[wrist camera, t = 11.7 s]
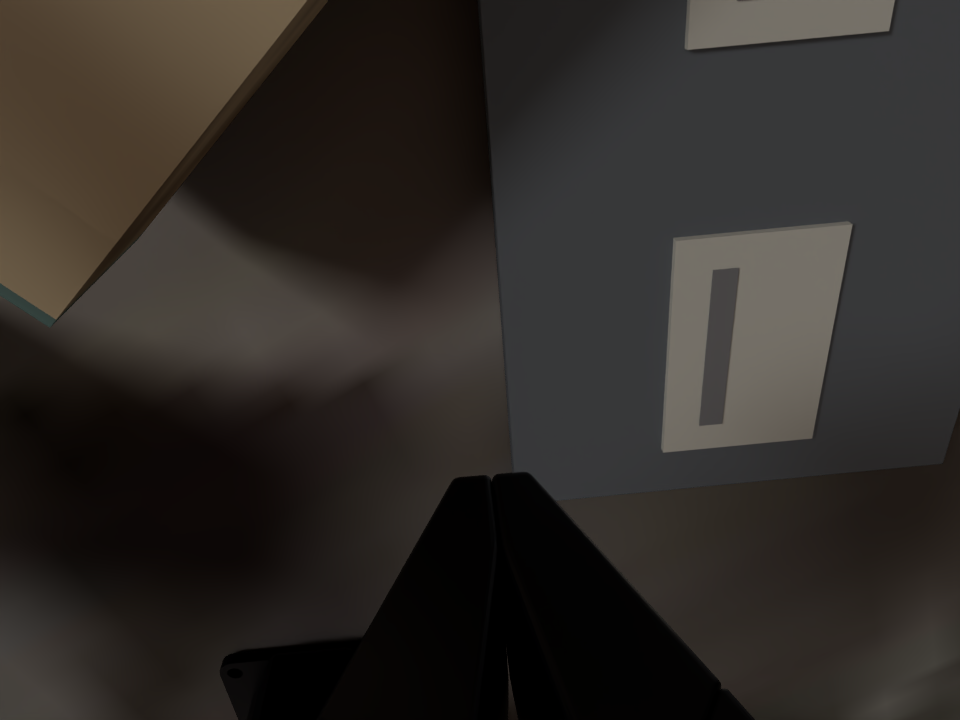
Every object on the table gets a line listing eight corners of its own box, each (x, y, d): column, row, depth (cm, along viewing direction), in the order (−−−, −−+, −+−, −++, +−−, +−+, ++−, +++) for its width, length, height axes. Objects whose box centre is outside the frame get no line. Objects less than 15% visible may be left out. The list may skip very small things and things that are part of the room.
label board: (918, 438, 21) (947, 469, 20) (512, 476, 21) (517, 510, 20) (1183, -507, 12) (1272, -560, 10) (445, -439, 12) (446, -484, 10)
